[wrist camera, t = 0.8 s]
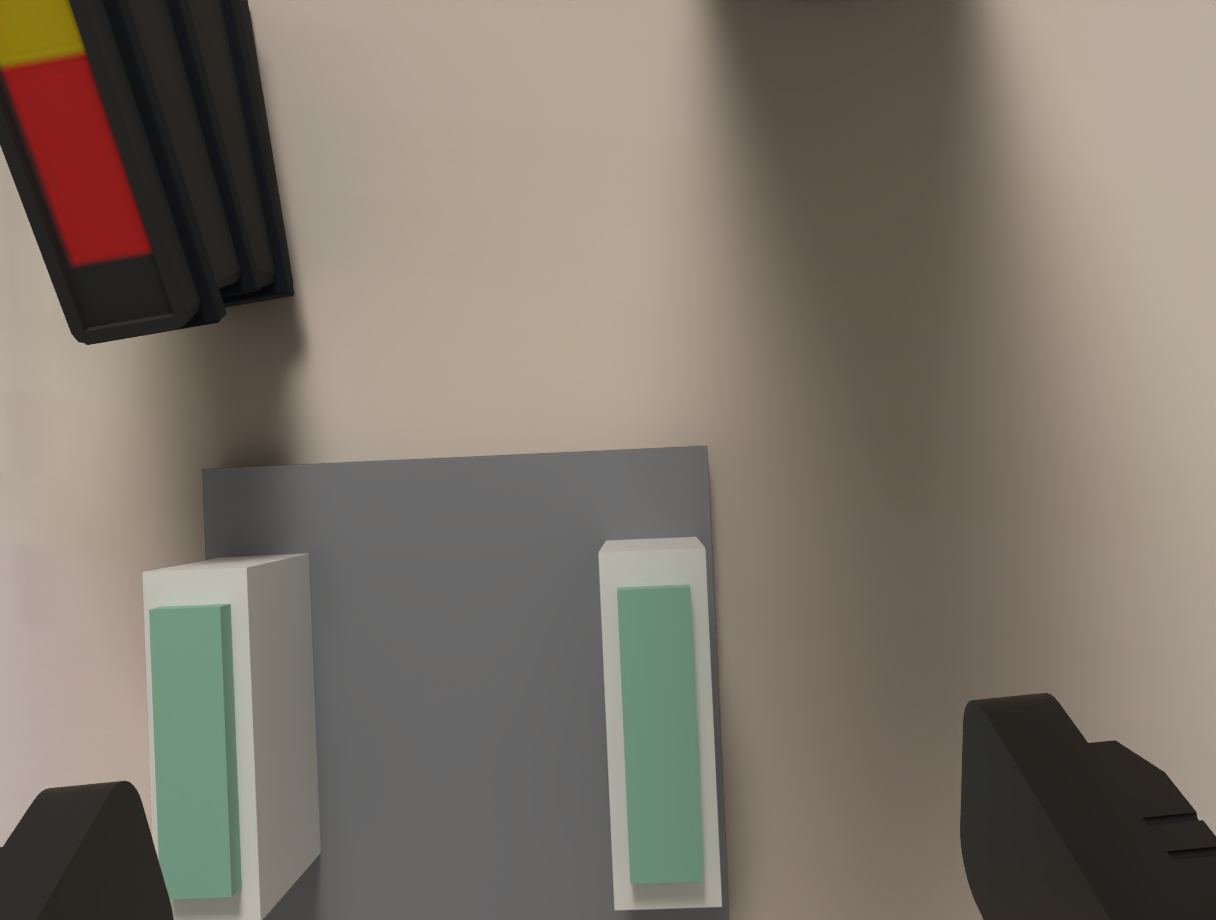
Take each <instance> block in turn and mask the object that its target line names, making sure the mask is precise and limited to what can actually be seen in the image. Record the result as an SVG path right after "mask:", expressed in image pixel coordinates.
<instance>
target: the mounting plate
mask: <svg viewBox="0 0 1216 920" xmlns="http://www.w3.org/2000/svg"><path fill="white" fill-rule="evenodd" d="M202 475H203V500H204V525H205V551H206V560H204V561H198V562H193V563H188V564H183V565H177V566H172V567H167V568H161V569H156V570H151V571H146V572H142V573H143V599H144V625H145V651H146V676H147V702H148V728H149V754H150V780H151V806H152V832H153V843H154V846H155V850H156V853H157V857H158V860H159V864H160V867H161V871H162V874H163V878H164V881H165V885H166V888H167V892H168V895H169V899H170V902H171V906H172V911H173V919H174V920H729V905H728V883H727V862H726V840H725V819H724V797H723V776H722V754H721V733H720V711H719V690H718V668H717V647H716V625H715V604H714V582H713V561H712V539H711V518H710V496H709V475H708V453H707V446H692V447H670V448H648V449H626V450H604V451H583V452H561V453H539V454H517V455H496V456H474V457H452V458H430V459H409V460H387V461H365V462H343V463H321V464H300V465H278V466H256V467H234V468H213V469H202Z"/></svg>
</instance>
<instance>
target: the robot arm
mask: <svg viewBox="0 0 1216 920" xmlns="http://www.w3.org/2000/svg"><path fill="white" fill-rule="evenodd" d="M960 837H961V848H962V855H963V861H964V866H965V871H966V875H967V879H968V882H969V886H970V889H971V892H972V895H973V897H974V900H975V902H976V904H977V906H978V908H979V910H980V913H981V915H982V917H983V919H984V920H1216V836H1215V835H1214V834H1213V832H1212V831H1211V830H1210V829H1209V827H1208V826H1207V825H1206V824H1205V822H1204V821H1203V820H1201V821H1199V820H1198V818H1197V812H1196V811H1195V810H1194V809H1193V807H1192V806H1191V805H1190V804H1189V802H1188V801H1187V800H1186V798H1185V797H1184V796H1183V795H1182V793H1181V792H1180V791H1179V790H1178V788H1177V787H1176V786H1175V785H1174V783H1173V782H1172V781H1171V780H1170V778H1169V777H1168V776H1167V775H1166V773H1165V772H1163V771H1162V770H1160V769H1159V768H1157V767H1156V766H1154V765H1153V764H1151V763H1149V762H1148V761H1146V760H1145V759H1143V758H1142V757H1140V756H1139V755H1137V754H1136V753H1134V752H1132V751H1131V750H1129V749H1128V748H1126V747H1125V746H1123V745H1122V744H1120V743H1119V742H1117V741H1105V742H1095V743H1088V742H1087V741H1086V740H1085V738H1084V737H1083V735H1082V734H1081V733H1080V731H1079V730H1078V728H1077V727H1076V726H1075V724H1074V723H1073V722H1072V720H1071V719H1070V717H1069V716H1068V715H1067V713H1066V712H1065V711H1064V709H1063V708H1062V706H1061V705H1060V704H1059V702H1058V701H1057V700H1056V699H1055V697H1053V696H1052V695H1051V694H1048V693H1041V694H1031V695H1021V696H1011V697H1001V698H990V699H980V700H971V701H969V702H968V704H967V705H966V708H965V712H964V720H963V750H962V785H961V820H960ZM0 920H174V919H173V911H172V906H171V902H170V899H169V895H168V892H167V888H166V885H165V881H164V878H163V874H162V871H161V867H160V864H159V860H158V857H157V853H156V850H155V846H154V843H153V839H152V836H151V832H150V829H149V825H148V822H147V818H146V815H145V811H144V808H143V804H142V801H141V798H140V795H139V793H138V791H137V789H136V788H135V787H134V785H132V784H131V783H130V782H127V781H119V782H109V783H98V784H88V785H78V786H68V787H58V788H48V789H45V790H43V791H42V792H41V793H40V794H38V796H37V797H36V798H35V799H34V801H33V802H32V804H31V805H30V807H29V808H28V810H27V811H26V813H25V814H24V816H23V817H22V819H21V820H20V822H19V823H18V825H17V826H16V828H15V829H14V831H13V832H12V834H11V835H10V837H9V838H8V840H7V841H6V843H5V844H4V846H3V847H0Z"/></svg>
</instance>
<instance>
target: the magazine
mask: <svg viewBox="0 0 1216 920" xmlns="http://www.w3.org/2000/svg"><path fill="white" fill-rule="evenodd" d="M0 145H1V148H2V150H3V153H4V156H5V158H6V161H7V164H8V166H9V169H10V172H11V174H12V177H13V180H14V182H15V185H16V188H17V190H18V193H19V196H20V198H21V201H22V204H23V206H24V209H25V212H26V214H27V217H28V220H29V222H30V225H31V228H32V230H33V233H34V235H35V238H36V241H37V243H38V246H39V249H40V251H41V254H42V257H43V259H44V262H45V265H46V267H47V270H48V273H49V275H50V278H51V281H52V283H53V286H54V289H55V291H56V294H57V297H58V299H59V302H60V305H61V307H62V310H63V313H64V315H65V318H66V321H67V323H68V326H69V328H70V331H71V334H72V335H73V336H74V337H75V339H76V340H77V341H78V342H81V343H85V344H86V345H90V344H96V343H102V342H108V341H114V340H120V339H125V338H131V337H137V336H143V335H149V334H154V333H160V332H166V331H172V330H178V329H184V328H189V327H195V326H201V325H207V324H213V323H218V322H220V320H221V319H222V318H223V317H224V316H225V315H226V310H225V307H230V306H235V305H241V304H247V303H253V302H259V301H264V300H270V299H276V298H282V297H288V296H292V295H294V291H293V280H292V274H291V267H290V261H289V255H288V249H287V242H286V236H285V230H284V224H283V218H282V211H281V205H280V199H279V193H278V187H277V180H276V174H275V168H274V162H273V155H272V149H271V143H270V137H269V131H268V124H267V118H266V112H265V106H264V100H263V93H262V87H261V81H260V75H259V69H258V62H257V56H256V50H255V44H254V37H253V31H252V25H251V19H250V13H249V6H248V1H247V0H0Z"/></svg>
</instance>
